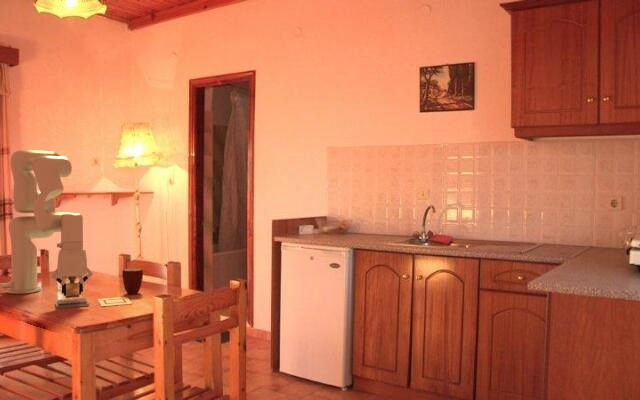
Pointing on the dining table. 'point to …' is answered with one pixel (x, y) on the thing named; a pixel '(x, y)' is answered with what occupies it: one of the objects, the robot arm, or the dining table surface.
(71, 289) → the stamp
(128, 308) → the dining table surface
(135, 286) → the mug
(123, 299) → the card
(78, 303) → the ink pad
